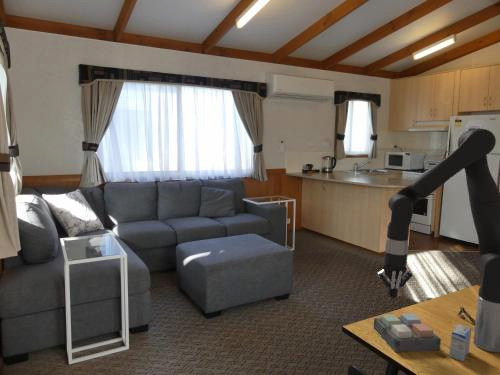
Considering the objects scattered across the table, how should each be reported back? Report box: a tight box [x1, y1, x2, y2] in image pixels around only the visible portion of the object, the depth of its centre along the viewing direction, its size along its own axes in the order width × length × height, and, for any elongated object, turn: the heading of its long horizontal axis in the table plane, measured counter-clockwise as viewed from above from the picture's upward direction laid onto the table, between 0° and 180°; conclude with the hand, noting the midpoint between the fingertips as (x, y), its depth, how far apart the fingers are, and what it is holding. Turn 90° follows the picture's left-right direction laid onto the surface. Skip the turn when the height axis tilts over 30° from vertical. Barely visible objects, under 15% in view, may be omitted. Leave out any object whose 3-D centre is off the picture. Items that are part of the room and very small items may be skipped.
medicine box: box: [448, 323, 472, 362], centre depth 128 cm, size 8×4×9 cm, turn 141°
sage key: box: [380, 313, 401, 327], centre depth 140 cm, size 5×5×2 cm
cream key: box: [391, 324, 412, 339], centre depth 132 cm, size 5×5×2 cm
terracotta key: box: [412, 323, 434, 338], centre depth 134 cm, size 5×5×2 cm
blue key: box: [400, 313, 421, 327], centre depth 141 cm, size 5×5×2 cm
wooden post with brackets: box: [457, 306, 476, 326], centre depth 153 cm, size 2×8×4 cm, turn 21°
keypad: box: [373, 316, 442, 353], centre depth 137 cm, size 16×16×4 cm
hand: (392, 297), depth 139 cm, fingers closed
